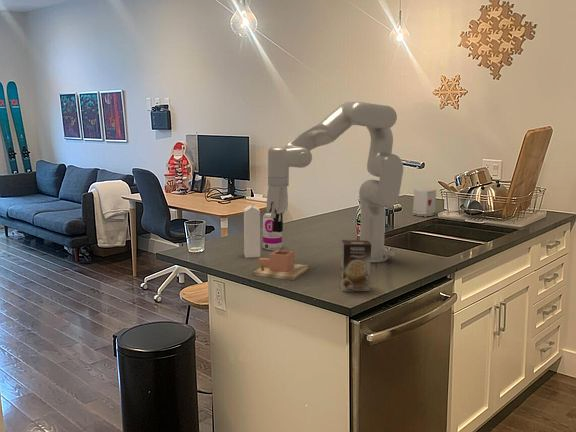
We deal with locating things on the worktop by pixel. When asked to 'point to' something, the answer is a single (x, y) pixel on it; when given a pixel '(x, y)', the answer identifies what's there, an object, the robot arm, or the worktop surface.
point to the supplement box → (424, 201)
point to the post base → (289, 275)
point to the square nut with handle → (278, 261)
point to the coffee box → (355, 265)
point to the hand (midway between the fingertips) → (277, 231)
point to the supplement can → (270, 234)
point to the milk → (251, 231)
